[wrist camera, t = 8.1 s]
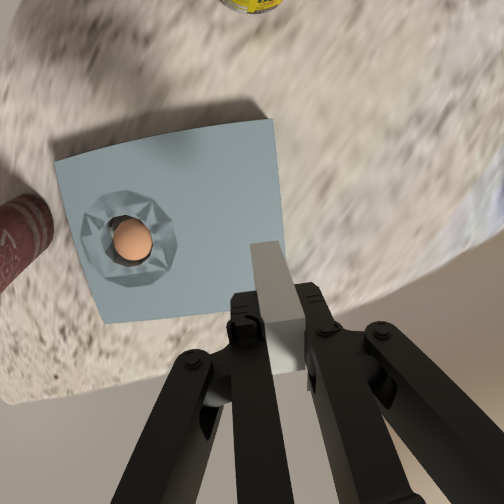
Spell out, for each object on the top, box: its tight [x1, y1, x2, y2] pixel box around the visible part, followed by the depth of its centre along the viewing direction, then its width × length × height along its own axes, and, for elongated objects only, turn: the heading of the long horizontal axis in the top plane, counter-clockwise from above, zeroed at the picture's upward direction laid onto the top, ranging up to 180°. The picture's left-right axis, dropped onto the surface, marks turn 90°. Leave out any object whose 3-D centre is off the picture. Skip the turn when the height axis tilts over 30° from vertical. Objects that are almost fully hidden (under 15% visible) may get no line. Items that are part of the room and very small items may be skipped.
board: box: [54, 119, 286, 324], centre depth 26 cm, size 16×18×2 cm
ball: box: [113, 218, 153, 260], centre depth 26 cm, size 4×4×4 cm
